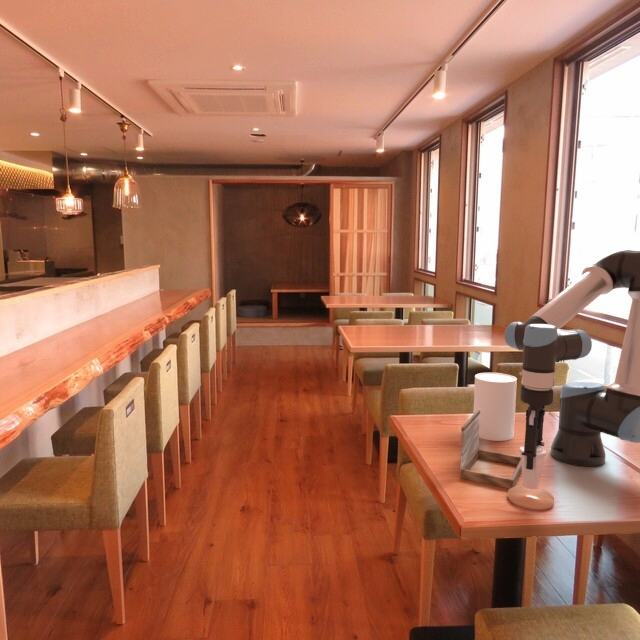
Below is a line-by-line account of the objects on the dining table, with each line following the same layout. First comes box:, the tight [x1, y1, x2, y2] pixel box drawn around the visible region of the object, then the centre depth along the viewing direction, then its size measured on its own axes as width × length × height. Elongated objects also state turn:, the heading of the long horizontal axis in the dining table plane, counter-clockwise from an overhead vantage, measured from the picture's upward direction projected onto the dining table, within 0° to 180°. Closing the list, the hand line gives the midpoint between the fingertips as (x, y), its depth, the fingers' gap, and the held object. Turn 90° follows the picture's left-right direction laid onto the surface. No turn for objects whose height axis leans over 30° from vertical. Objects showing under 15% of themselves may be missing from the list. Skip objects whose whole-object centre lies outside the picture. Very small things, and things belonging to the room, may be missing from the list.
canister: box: [472, 372, 518, 442], centre depth 184 cm, size 14×14×20 cm
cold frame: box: [459, 410, 522, 490], centre depth 154 cm, size 16×18×15 cm
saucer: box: [507, 485, 555, 511], centre depth 137 cm, size 11×11×1 cm
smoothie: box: [518, 445, 547, 489], centre depth 136 cm, size 6×6×14 cm
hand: (531, 475), depth 136 cm, fingers closed on smoothie, 6 cm apart
